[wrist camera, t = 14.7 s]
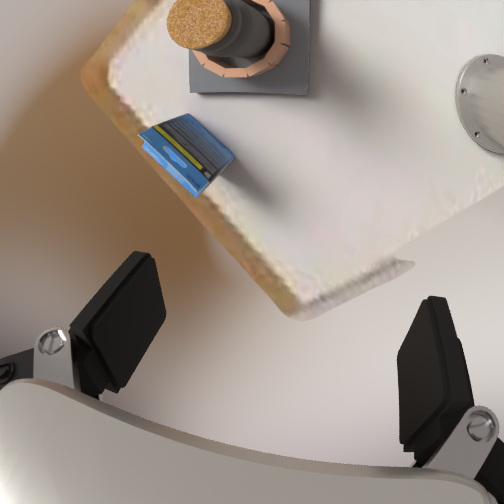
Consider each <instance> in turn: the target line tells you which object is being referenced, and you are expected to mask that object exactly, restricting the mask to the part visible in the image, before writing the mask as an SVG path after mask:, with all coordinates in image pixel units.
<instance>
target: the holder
mask: <svg viewBox="0 0 504 504" xmlns="http://www.w3.org/2000/svg"><path fill="white" fill-rule="evenodd" d="M241 1H243V2H245V3H247V4H248V5H250V6H251V7H253V8H254V9H256V10H257V11H259V12H260V13H262V14H263V15H265V16H266V17H267V18H268V19H269V20H270V21H271V22H272V24H273V26H274V28H275V41H274V43H273V45H272V47H271V48H270V49H269V50H268V51H267V52H266V53H264V54H263V55H261V56H258V57H254V58H237V57H216V56H209V55H206V54H204V53H202V52H199V51H195V50H192V49H189V78H190V93H198V92H257V93H279V94H294V95H306V96H307V95H308V76H309V46H310V0H241Z"/></svg>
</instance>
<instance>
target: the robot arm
mask: <svg viewBox="0 0 504 504" xmlns="http://www.w3.org/2000/svg"><path fill="white" fill-rule="evenodd" d="M484 60H485V63H484ZM461 89H462V90H463V93H461ZM456 106H457V112H458V115H459V118H460V121H461V123H462V125H463V127H464V129H465V130H466V131H467V133H468V134H469V136H470V137H471V138H472V139H473V140H474V141H475V142H476V143H478V144H479V145H480V146H482V147H484V148H485V149H487V150H489V151H492V152H495V153H504V57H502V56H499V55H492V54H487V55H481V56H477V57H475V58H473V59H472V60H470V61H469V62H468V63H467V64H466V65H465V66H464V68H463V69H462V71H461V73H460V75H459V78H458V81H457V85H456ZM475 132H476V135H475ZM165 318H166V309H165V305H164V300H163V296H162V291H161V287H160V282H159V278H158V273H157V268H156V263H155V260H154V258H152V257H151V255H150V254H149V253H145V252H139V251H135V252H133V253H132V254H131V255H130V256H129V257H128V258H127V259H126V260H125V261H124V263H122V265H121V266H120V267H119V268H118V269H117V270H116V271H115V272H114V274H113V275H112V276H111V277H110V278H109V279H108V280H107V281H106V283H105V284H104V285H103V286H102V287H101V288H100V290H99V291H98V292H97V293H96V294H95V295H94V296H93V298H92V299H91V300H90V301H89V302H88V304H87V305H86V306H85V307H84V308H83V310H82V311H81V312H80V313H79V314H78V316H77V317H76V318H75V319H74V321H73V322H72V323H71V324H70V327H71V328H70V330H69V331H67V330H66V329H64V328H62V327H51V328H49V329H46V330H45V331H43V332H42V333H41V334H40V335H39V336H38V337H37V339H36V341H35V345H34V348H32V349H29V350H26V351H23V352H20V353H17V354H14V355H10V356H7V357H4V358H2V359H0V504H504V443H503V442H502V441H501V440H500V439H499V438H498V434H499V423H498V419H497V417H496V416H495V414H494V413H493V412H492V411H491V410H490V409H488V408H487V407H484V406H475V405H474V399H473V394H472V389H471V383H470V378H469V374H468V369H467V364H466V360H465V356H464V352H463V348H462V344H461V342H460V339H459V338H457V334H456V331H455V327H454V324H453V320H452V317H451V313H450V310H449V307H448V303H447V300H446V298H444V297H437V296H429V297H428V299H427V300H426V299H425V300H423V301H422V303H421V305H420V307H419V309H418V312H417V314H416V316H415V318H414V320H413V323H412V325H411V327H410V329H409V331H408V333H407V335H406V337H405V339H404V341H403V343H402V345H401V347H400V349H399V351H398V355H397V367H398V368H397V369H398V387H399V422H400V423H399V426H400V427H399V428H400V430H399V432H400V433H399V434H400V435H399V439H400V443H401V444H404V452H414V459H415V461H414V462H413V464H411V466H410V467H384V466H366V465H352V464H341V463H340V464H339V463H330V462H321V461H313V460H306V459H299V458H293V457H287V456H280V455H275V454H270V453H264V452H260V451H255V450H250V449H246V448H241V447H237V446H232V445H228V444H225V443H221V442H217V441H213V440H209V439H205V438H202V437H199V436H195V435H192V434H189V433H186V432H182V431H179V430H176V429H173V428H170V427H167V426H164V425H161V424H158V423H155V422H153V421H150V420H147V419H144V418H141V417H139V416H136V415H133V414H131V413H129V412H126V411H124V410H121V409H119V408H116V407H114V406H111V405H109V404H107V403H104V400H103V395H102V392H103V391H104V389H107V390H110V391H112V392H114V393H118V392H119V390H120V388H123V387H125V386H126V384H127V383H128V381H129V379H130V378H131V376H132V374H133V372H134V371H135V369H136V367H137V366H138V364H139V362H140V361H141V359H142V357H143V356H144V354H145V352H146V350H147V349H148V347H149V345H150V344H151V342H152V340H153V339H154V337H155V336H156V334H157V332H158V331H159V329H160V327H161V325H162V324H163V322H164V320H165Z"/></svg>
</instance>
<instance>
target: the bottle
mask: <svg viewBox="0 0 504 504" xmlns="http://www.w3.org/2000/svg"><path fill="white" fill-rule="evenodd" d="M167 29H168V32H169V35H170V36H171V38H172V39H173V40H174V41H175V42H176V43H177V44H178V45H180V46H182V47H184V48H188V49H192V50H195V51H199V52H202V53H204V54H206V55H209V56H216V57H237V58H254V57H258V56H261V55H263V54H264V53H266V52H267V51H268V50H269V49H270V48H271V47H272V45H273V43H274V41H275V28H274V26H273V24H272V22H271V21H270V20H269V19H268V18H267V17H266V16H265V15H263V14H262V13H260V12H259V11H257V10H256V9H254V8H253V7H251V6H250V5H248V4H247V3H245V2H243V1H241V0H177V1H176V2H175V3H174V4H173V6H172V7H171V9H170V11H169V14H168V17H167Z"/></svg>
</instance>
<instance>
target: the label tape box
mask: <svg viewBox="0 0 504 504" xmlns="http://www.w3.org/2000/svg"><path fill="white" fill-rule="evenodd" d="M138 136H140V137H141V138H142V139H143V140H144V141H145V142H144V144H143V147H142V148H143V149H144V150H145V151H146V152H147V153H148V154H149V155H150V156H151V157H152V158H154V159H155V160H156V161H157V162H158V163H159V164H160V165H161V166H162V167H163V168H164V169H165V170H167V171H168V172H169V173H170V174H171V175H172V176H173V177H174V178H175V179H176V180H177V181H178V182H179V183H181V184H182V185H183V186H184V187H185V188H186V189H187V190H188V191H189V192H190V193H191V194H192V195H194V196H195V197H196V198H197V197H198V196H199V195H200V194H201V193H202V192H203V191H204V190H205V189H206V188H207V187H208V186H209V185H210V184H211V183H212V182H213V181H214V180H215V179H216V178H217V176H218V175H219V174H220V173H221V172H222V171H223V170H224V169H225V168H226V167H227V166H228V165H229V164H230V163H231V162H232V161H233V160H234V158H235V156H234V155H233V154H232V153H231V152H230V151H229V150H227V149H226V148H225V147H224V146H223V145H222V144H221V143H220V142H219V141H218V140H217V139H216V138H215V137H214V136H212V135H211V134H210V133H209V132H208V131H207V130H206V129H205V128H204V127H203V126H202V125H200V124H199V123H198V122H197V121H196V120H195V119H194V118H193V117H192V116H190V115H189V114H188V113H187V114H184V115H181V116H179V117H176V118H173V119H170V120H168V121H165V122H162V123H160V124H157V125H155V126H152V127H150V128H149V129H147V130H145V131H143V132H141V133H139V134H138Z"/></svg>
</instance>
